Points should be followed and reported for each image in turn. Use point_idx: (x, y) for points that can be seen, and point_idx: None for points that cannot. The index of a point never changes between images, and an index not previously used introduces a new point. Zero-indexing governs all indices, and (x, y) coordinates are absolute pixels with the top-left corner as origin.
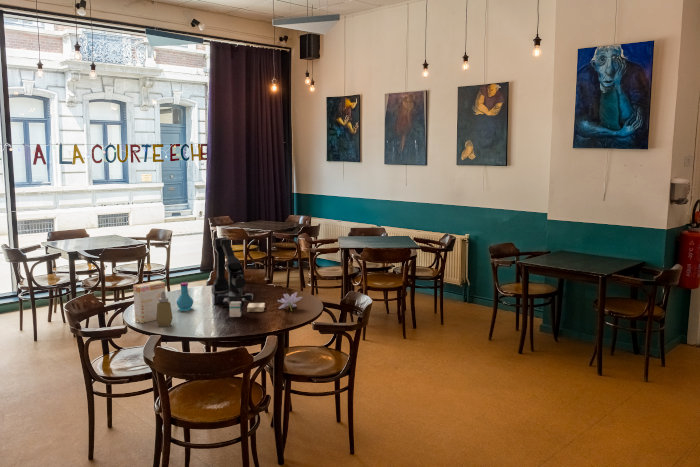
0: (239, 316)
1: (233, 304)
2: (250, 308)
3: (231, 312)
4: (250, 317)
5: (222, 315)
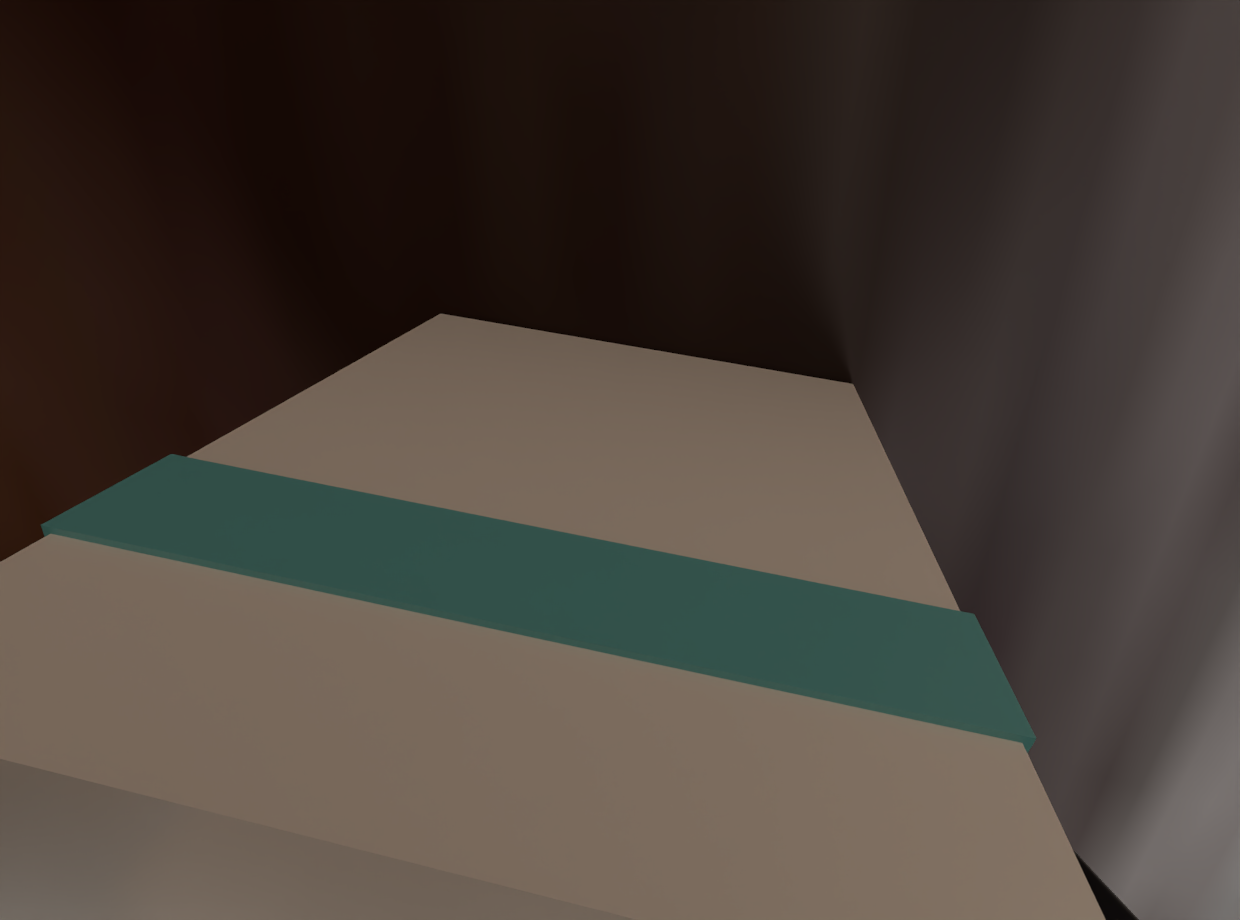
0: (465, 320)
1: (555, 860)
2: None
3: (788, 446)
4: (40, 115)
5: (1087, 647)
